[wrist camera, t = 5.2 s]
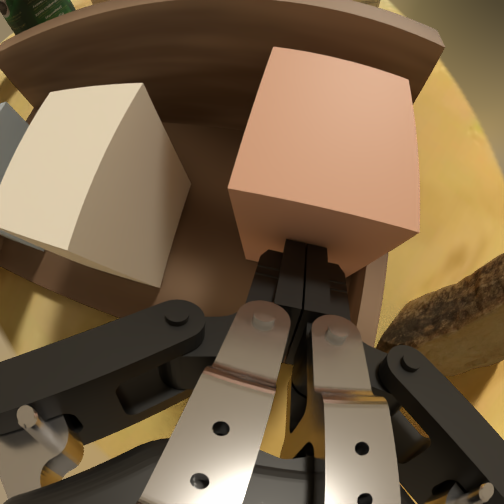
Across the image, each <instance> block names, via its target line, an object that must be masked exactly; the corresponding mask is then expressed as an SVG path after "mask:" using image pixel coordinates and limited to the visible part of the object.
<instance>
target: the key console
mask: <svg viewBox="0 0 504 504" xmlns="http://www.w3.org/2000/svg"><path fill="white" fill-rule="evenodd" d="M273 47H280V48H287V49H294V50H300V51H306V52H311V53H316V54H321V55H326V56H330V57H335V58H339V59H343V60H347V61H351V62H355V63H359V64H362V65H366V66H369V67H372V68H376V69H379V70H382V71H385V72H388V73H391V74H394V75H397V76H400V77H403V78H405V79H408V80H409V85H410V91H411V97H412V104H413V103H414V102H415V100H416V98H417V97H418V95H419V93H420V91H421V90H422V88H423V86H424V84H425V83H426V81H427V79H428V77H429V76H430V74H431V72H432V70H433V68H434V67H435V65H436V63H437V61H438V59H439V58H440V56H441V54H442V52H443V50H444V48H445V46H444V44H443V42H442V40H441V37H440V35H439V33H438V31H437V30H435V29H433V28H431V27H428V26H426V25H424V24H422V23H419V22H417V21H414V20H412V19H409V18H407V17H404V16H401V15H398V14H396V13H393V12H390V11H387V10H384V9H381V8H377V7H374V6H371V5H367V4H364V3H360V2H356V1H352V0H109V1H105V2H101V3H98V4H94V5H91V6H88V7H84V8H81V9H78V10H75V11H72V12H69V13H67V14H64V15H61V16H58V17H56V18H53V19H51V20H48V21H46V22H44V23H41V24H39V25H37V26H34V27H32V28H30V29H28V30H26V31H24V32H22V33H20V34H18V35H16V36H14V37H12V38H10V39H8V40H6V41H4V42H3V43H2V44H1V45H0V69H1V70H2V71H3V73H4V74H5V75H6V76H7V77H8V78H9V80H10V81H11V82H12V83H13V84H14V85H15V87H16V88H17V89H18V90H19V91H20V92H21V93H22V95H23V96H24V97H25V98H26V99H27V100H28V101H29V102H30V104H31V105H32V106H33V107H34V109H33V110H32V112H31V114H30V115H29V117H28V118H27V120H26V122H27V123H28V124H29V125H30V123H31V122H32V120H33V118H34V117H35V115H36V113H37V112H38V110H39V109H40V107H41V105H42V104H43V102H44V101H45V99H46V98H47V96H48V95H49V93H50V92H54V91H60V90H67V89H74V88H81V87H90V86H100V85H111V84H127V83H143V84H144V86H145V88H146V90H147V92H148V95H149V97H150V99H151V101H152V103H153V105H154V107H155V110H156V112H157V114H158V116H159V118H160V120H161V122H162V124H163V126H164V129H165V131H166V133H167V135H168V137H169V139H170V141H171V143H172V145H173V147H174V149H175V152H176V154H177V156H178V158H179V160H180V162H181V164H182V166H183V168H184V170H185V172H186V174H187V176H188V178H189V180H190V182H191V186H190V189H189V192H188V195H187V198H186V201H185V204H184V207H183V210H182V213H181V217H180V220H179V223H178V226H177V230H176V233H175V236H174V240H173V243H172V246H171V250H170V253H169V257H168V260H167V264H166V268H165V271H164V275H163V279H162V282H161V286H160V288H158V287H154V286H151V285H147V284H144V283H140V282H137V281H133V280H130V279H127V278H123V277H120V276H117V275H113V274H110V273H107V272H104V271H100V270H97V269H94V268H91V267H88V266H85V265H82V264H80V263H77V262H75V261H72V260H70V259H67V258H65V257H62V256H60V255H57V254H55V253H53V252H50V251H48V250H44V251H41V250H38V249H35V248H32V247H30V246H27V245H24V244H22V243H19V242H16V241H14V240H11V239H8V238H6V237H4V236H1V235H0V266H1V267H3V268H5V269H7V270H9V271H11V272H13V273H15V274H17V275H19V276H21V277H23V278H25V279H27V280H29V281H31V282H33V283H35V284H38V285H40V286H42V287H44V288H46V289H49V290H51V291H53V292H55V293H58V294H60V295H62V296H65V297H67V298H70V299H72V300H74V301H77V302H79V303H82V304H84V305H87V306H89V307H92V308H94V309H97V310H100V311H102V312H105V313H108V314H110V315H113V316H116V317H119V318H123V317H125V316H128V315H131V314H133V313H136V312H138V311H141V310H144V309H146V308H149V307H152V306H154V305H157V304H159V303H162V302H165V301H168V300H176V299H178V300H186V301H189V302H192V303H194V304H196V305H197V306H198V307H200V308H201V310H202V311H203V313H204V315H205V317H220V316H228V315H231V314H234V313H236V312H238V310H239V308H240V307H241V306H242V305H244V304H245V303H246V300H247V297H248V294H249V290H250V287H251V284H252V281H253V278H254V274H255V271H256V268H257V265H258V262H256V261H252V260H247V259H246V258H245V254H244V250H243V246H242V242H241V239H240V235H239V231H238V227H237V223H236V219H235V215H234V211H233V208H232V204H231V200H230V196H229V192H228V185H229V182H230V178H231V175H232V171H233V168H234V165H235V161H236V158H237V155H238V152H239V148H240V145H241V142H242V139H243V135H244V132H245V129H246V126H247V123H248V120H249V117H250V114H251V110H252V107H253V104H254V101H255V98H256V95H257V92H258V89H259V86H260V83H261V80H262V77H263V75H264V72H265V69H266V66H267V63H268V60H269V57H270V54H271V52H272V49H273ZM387 260H388V253H386V254H385V255H383V256H381V257H380V258H378V259H376V260H375V261H373V262H372V263H370V264H368V265H367V266H365V267H363V268H361V269H360V270H358V271H356V272H355V273H353V274H351V275H350V276H348V277H346V278H345V279H346V286H347V294H348V302H349V310H350V319H351V322H352V323H353V324H354V325H355V326H356V327H357V328H358V330H359V332H360V334H361V338H362V341H363V342H364V343H366V344H367V345H369V346H371V347H373V348H374V343H375V338H376V333H377V328H378V323H379V317H380V311H381V305H382V299H383V292H384V285H385V277H386V269H387ZM285 359H286V356H285V358H284V361H283V363H285Z"/></svg>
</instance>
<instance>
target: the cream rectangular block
mask: <svg viewBox="0 0 504 504" xmlns="http://www.w3.org/2000/svg"><path fill="white" fill-rule="evenodd" d="M190 186H191V182H190V180H189V178H188V176H187V174H186V172H185V170H184V168H183V166H182V164H181V162H180V160H179V158H178V156H177V154H176V152H175V149H174V147H173V145H172V143H171V141H170V139H169V137H168V135H167V133H166V131H165V129H164V126H163V124H162V122H161V120H160V118H159V116H158V114H157V112H156V110H155V107H154V105H153V103H152V101H151V99H150V97H149V95H148V92H147V90H146V88H145V86H144V84H143V83H127V84H111V85H100V86H90V87H81V88H74V89H67V90H60V91H54V92H50V93H49V95H48V96H47V98H46V99H45V101H44V102H43V104H42V105H41V107H40V109H39V110H38V112H37V113H36V115H35V117H34V118H33V120H32V122H31V123H30V125H29V127H28V129H27V130H26V132H25V134H24V136H23V138H22V140H21V141H20V143H19V145H18V147H17V149H16V151H15V153H14V155H13V157H12V159H11V161H10V164H9V166H8V168H7V170H6V172H5V175H4V177H3V179H2V181H1V184H0V230H3V231H5V232H7V233H9V234H11V235H13V236H16V237H18V238H20V239H22V240H25V241H27V242H29V243H31V244H34V245H36V246H38V247H41V248H43V249H45V250H48V251H50V252H53V253H55V254H57V255H60V256H62V257H65V258H67V259H70V260H72V261H75V262H77V263H80V264H82V265H85V266H88V267H91V268H94V269H97V270H100V271H104V272H107V273H110V274H113V275H117V276H120V277H123V278H127V279H130V280H133V281H137V282H140V283H144V284H147V285H151V286H154V287H158V288H160V286H161V282H162V279H163V275H164V271H165V268H166V264H167V260H168V257H169V253H170V250H171V246H172V243H173V240H174V236H175V233H176V230H177V226H178V223H179V220H180V217H181V213H182V210H183V207H184V204H185V201H186V198H187V195H188V192H189V189H190Z"/></svg>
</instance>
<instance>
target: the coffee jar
mask: <svg viewBox="0 0 504 504" xmlns="http://www.w3.org/2000/svg"><path fill="white" fill-rule="evenodd" d="M72 11H75V8H74V6H73V4H72V2H71V1H70V0H0V12H1V13H2V15H3V17H4V18H5V20H6V21H7V23H8V24H9V26H10V27H11V29H12V30H13V32H14V33H15V35H18V34H20V33H22V32H24V31H26V30H28V29H30V28H32V27H34V26H37V25H39V24H41V23H44V22H46V21H48V20H51V19H53V18H56V17H58V16H61V15H64V14H67V13H69V12H72Z"/></svg>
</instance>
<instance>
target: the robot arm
mask: <svg viewBox="0 0 504 504" xmlns="http://www.w3.org/2000/svg"><path fill="white" fill-rule="evenodd" d="M285 356H286V359H285V363H286V364H291V365H293V371H292V375H291V378H290V380H289V382H288V388H287V409H286V428H285V439H284V443H283V446H282V450H281V454H280V458H278V457H275V456H273V455H270V454H268V453H266V452H263V451H261V450H259V449H260V445H261V442H262V438H263V435H264V432H265V428H266V425H267V421H268V418H269V414H270V410H271V407H272V403H273V399H274V396H275V391H276V381H277V377H278V373H279V369H280V365H281V363H283V361H284V358H285ZM190 396H191V397H190ZM188 397H190V399H189V401H188V403H187V405H186V407H185V409H184V411H183V413H182V415H181V417H180V419H179V421H178V423H177V425H176V427H175V429H174V431H173V433H172V435H171V437H170V438H166V439H159V440H155V441H150V442H148V443H145V444H142V445H139V446H137V447H135V448H133V449H131V450H129V451H127V452H125V453H123V454H121V455H119V456H117V457H115V458H112V459H110V460H108V461H106V462H104V463H102V464H99V465H97V466H95V467H92V468H90V469H88V470H86V471H83V472H81V473H78V474H76V475H73V476H71V477H68V478H66V479H63V480H62V478H63V477H64V475H65V474H66V473H67V472H69V471H71V470H72V469H74V468H76V467H77V466H78V465H79V464H80V462H81V460H82V458H83V453H84V447H83V445H86V444H89V443H91V442H94V441H96V440H99V439H101V438H104V437H106V436H108V435H111V434H113V433H115V432H118V431H120V430H122V429H124V428H127V427H129V426H131V425H133V424H135V423H138V422H140V421H142V420H144V419H146V418H148V417H150V416H152V415H155V414H157V413H159V412H161V411H163V410H165V409H167V408H169V407H171V406H173V405H175V404H177V403H178V402H180V401H182V400H184V399H186V398H188ZM402 407H404V408H405V410H406V411H407V412H408V413H409V414H410V415H411V416H412V417H413V419H414V420H415V421H416V422H417V423H418V424H419V425H420V426H421V428H422V429H423V430H424V431H425V432H426V433H427V434H428V436H429V437H430V438H425V437H423V436H421V435H420V434H419V432H418V431H417V430H416V429H415V428H414V427H413V426H412V424H411V423H410V422H409V421H408V420H407V419H406V418H405V417H404V415H403V414H402V413H401V412H400V411H399V410H400V409H401V408H402ZM0 478H1V481H2V484H3V486H4V489H5V491H6V494H7V497H8V500H7V501H6V502H5V503H4V504H415V503H414V502H413V500H412V499H411V498H410V497H409V495H408V494H407V493H406V492H405V490H404V489H403V488H402V487H401V485H402V486H403V487H404V488H405V489H406V490H407V492H408V493H409V494H410V495H411V496H412V497H413V499H414V500H415V501H416V502H417V503H418V504H504V440H503V439H502V438H501V437H500V435H499V434H498V433H497V432H496V431H495V430H494V429H493V428H492V426H491V425H490V424H489V423H488V422H487V421H486V420H485V419H484V418H483V417H482V415H481V414H480V413H479V412H478V411H477V410H476V409H475V408H474V407H473V406H472V405H471V404H470V402H469V401H468V400H467V399H466V398H465V397H464V396H463V395H462V394H461V393H460V392H459V391H458V390H457V389H456V388H455V387H454V386H453V385H452V384H451V382H450V381H449V380H448V379H447V378H446V377H445V376H444V375H443V374H442V373H441V372H440V371H439V370H438V369H437V368H436V367H435V366H434V365H433V364H432V363H431V362H430V361H429V360H428V359H427V358H426V357H425V356H424V355H423V354H422V353H421V352H420V351H418V350H417V349H415V348H413V347H411V346H407V345H398V346H395V347H393V348H392V349H391V350H390V351H389V352H388V354H387V353H385V352H383V351H380V350H378V349H376V348H373V347H371V346H369V345H367V344H366V343H364V342H363V341H362V338H361V334H360V332H359V330H358V328H357V327H356V326H355V325H354V324H353V323H352V322H351V319H350V310H349V302H348V294H347V286H346V279H345V273H344V272H343V270H342V269H341V268H340V266H339V265H338V264H334V263H330V262H328V254H327V248H325V247H320V246H316V245H311V244H307V245H306V243H302V242H297V241H293V240H288V239H286V240H285V245H284V249H283V252H279V251H274V250H269V249H268V250H267V251H266V252H264V253H263V254H262V255H261V256H260V258H259V262H258V265H257V268H256V271H255V274H254V278H253V281H252V284H251V287H250V290H249V294H248V297H247V300H246V303H245V304H244V305H242V306H241V307H240V308H239V310H238V312H236V313H234V314H231V315H228V316H220V317H205V315H204V313H203V311H202V310H201V308H200V307H198V306H197V305H196V304H194V303H192V302H189V301H186V300H178V299H176V300H168V301H165V302H162V303H159V304H157V305H154V306H152V307H149V308H146V309H144V310H141V311H138V312H136V313H133V314H131V315H128V316H125V317H123V318H120V319H117V320H115V321H112V322H109V323H107V324H104V325H101V326H99V327H96V328H93V329H90V330H88V331H85V332H82V333H80V334H77V335H74V336H71V337H69V338H66V339H63V340H61V341H58V342H55V343H52V344H50V345H47V346H44V347H41V348H38V349H36V350H33V351H30V352H27V353H24V354H22V355H19V356H16V357H13V358H11V359H8V360H5V361H2V362H0ZM399 482H400V483H401V485H400V484H399Z"/></svg>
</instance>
